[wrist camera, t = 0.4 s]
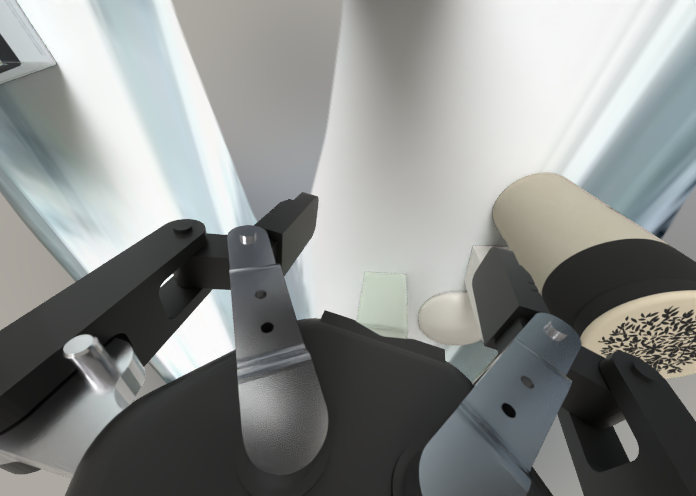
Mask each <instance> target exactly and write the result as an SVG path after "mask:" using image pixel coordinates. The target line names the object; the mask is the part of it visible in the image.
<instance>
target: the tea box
mask: <svg viewBox="0 0 696 496" xmlns="http://www.w3.org/2000/svg"><path fill="white" fill-rule="evenodd" d="M54 65H56V61H55V60H54V58H53V57H52V55H51V53H50V52H49V50H48V49H47V47H46V46H45V44H44V43H43V41H42V40H41V38H40V37H39V35H38V34H37V32H36V30H35V29H34V27H33V26H32V24H31V23H30V21H29V20H28V18H27V17H26V15H25V14H24V12H23V11H22V9H21V8H20V6H19V5H18V3H17V2H16V0H0V84H2V83H5V82H7V81H10V80H13V79H16V78H20V77H23V76H25V75H27V74H31V73H34V72H37V71H40V70H43V69H45V68H48V67H51V66H54Z"/></svg>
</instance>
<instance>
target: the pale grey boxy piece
mask: <svg viewBox="0 0 696 496" xmlns="http://www.w3.org/2000/svg"><path fill="white" fill-rule="evenodd" d="M356 322H358V323H360V324H362V325H363V326H365V327H367V328H368V329H370V330H372V331H374V332H375V333H377V334H379V335H381V336H384V337H394V338H404V339H407V333H408V322H407V283H406V274H392V273H377V272H365V276H364V281H363V287H362V292H361V298H360V303H359V309H358V315H357V320H356Z"/></svg>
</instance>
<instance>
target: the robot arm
mask: <svg viewBox="0 0 696 496" xmlns="http://www.w3.org/2000/svg"><path fill="white" fill-rule="evenodd" d="M317 210H318V196H314V195H311V194H307V193H303V192H302V193H301V194H300V195H299V196H298V197H297V198H296V199H294V200H291V199H288V200H286V201H283V202H280V203H279V204H278V205H277V206H276V207H274V209H272V210H271V211H270V212H269V213H268V214H267V215H265V216H264V217H263V218H262V219H261V220H260V221H259V222H257V223H256V224H255V225H254V226H252V225H245V226H239V227H236V228H234V229H232V230H231V231H230V232H229V233H228V235H219V234H207V233H206V229H205V225H204V224H203V223H201V222H199V221H197V220H191V219H182V220H176V221H172V222H169V223H167V224H165V225H164V226H162V227H161V228H159V229H158V230H156V231H154V232H153V233H151V234H150V235H148V236H147V237H145V238H144V239H142V240H140V241H139V242H137V243H136V244H134V245H133V246H131V247H130V248H128V249H126V250H125V251H123V252H122V253H120V254H119V255H117V256H116V257H114V258H112V259H111V260H109V261H108V262H106V263H105V264H103V265H102V266H100V267H98V268H97V269H95V270H94V271H92V272H91V273H89V274H88V275H86V276H84V277H83V278H81V279H80V280H78V281H77V282H75V283H74V284H72V285H71V286H69V287H67V288H66V289H64V290H63V291H61V292H60V293H58V294H57V295H55V296H53V297H52V298H50V299H49V300H47V301H46V302H44V303H43V304H41V305H39V306H38V307H37V308H35V309H33V310H32V311H30V312H29V313H27V314H25V315H24V316H22V317H21V318H19V319H18V320H16V321H15V322H13V323H11V324H10V325H8V326H7V327H5V328H4V329H2V330H1V331H0V468H2V469H4V470H7V471H9V472H11V473H14V474H28V473H32V472H36V471H38V470H41V469H43V470H46V471H49V472H52V473H55V474H59V475H62V476H65V477H68V478H71V479H72V480H71V482H70V485H69V487H68V490H67V492H66V494H65V496H553V495H552V493H551V492H550V491H549V489H548V488H547V486H546V485H545V484H544V482H543V481H542V480H541V478H540V477H539V475H538V474H537V473H536V471H535V470H534V468H533V467H532V465H533V463H534V461H535V459H536V457H537V455H538V453H539V451H540V449H541V447H542V445H543V443H544V441H545V438H546V436H547V434H548V432H549V430H550V428H551V426H552V424H553V422H554V420H555V417H556V415H557V414H558V417H559V420H560V423H561V426H562V430H563V433H564V436H565V439H566V442H567V445H568V448H569V451H570V454H571V456H572V460H573V463H574V466H575V469H576V472H577V476H578V478H579V482H580V485H581V488H582V491H583V494H584V496H696V421H695V420H694V419H693V417H692V416H691V414H690V413H689V412H688V410H687V409H686V407H685V406H684V405H683V403H682V402H681V400H680V399H679V398H678V396H677V395H676V394H675V392H674V391H673V389H672V388H671V387H670V385H669V384H668V382H667V381H666V380H665V379H664V378H663V377H662V375H661V374H660V373H658V372H657V371H656V370H655V369H654V368H653V367H651V366H650V365H649V364H647V363H646V362H644V361H643V360H641V359H639V358H638V357H636V356H634V355H632V354H629V353H626V352H622V351H617V352H614V353H613V354H611V355H610V356H608V357H607V358H604V357H602V356H601V355H599V354H597V353H595V352H593V351H591V350H589V349H587V348H585V347H583V346H581V345H582V342H581V339H580V337H579V335H578V334H577V333H576V332H575V330H574V329H573V328H572V327H571V326H569V325H568V324H567V323H566V322H564V321H563V320H561V319H559V318H557V317H556V316H553V315H551V314H550V312H549V310H548V308H547V306H546V304H545V302H544V300H543V298H542V296H541V294H540V293H538V292H539V290H538V288H537V286H536V285H535V282H534V280H533V279H532V277H531V275H530V274H529V273H528V272H527V271H526V270H525V269H524V268H523V266H521V265H519V263H518V261H517V259H516V256H515V254H514V252H513V251H510V250H506V249H503V248H499V247H495V246H493V247H492V248H490V250H489V251H488V253H487V254H486V256H485V257H484V259H483V261H482V262H481V264H480V265H479V267H478V268H477V270H476V272H475V273H474V276H473V279H472V288H473V293H474V298H475V303H476V307H477V312H478V317H479V322H480V327H481V332H482V336H483V341H484V346H487V347H490V348H493V349H496V350H498V354H497V355H496V356H495V357H494V359H493V360H492V361H491V362H490V363H489V364H488V365H487V367H486V368H485V369H484V370H483V371H482V372H481V373H480V374H479V376H478V377H477V378H476V379H475V380H474V381H473V382H472V383H471V381H470V380H469V379H468V378H467V377H466V376H465V375H464V374H463V373H462V372H461V371H459V370H458V369H457V368H456V367H454V366H453V365H451V364H450V363H449V362H447V361H445V349H442V348H439V347H436V346H432V345H429V344H426V343H423V342H420V341H417V340H414V339H404V338H394V337H384V336H381V335H379V334H377V333H375V332H374V331H372V330H370V329H368V328H367V327H365V326H363V325H362V324H360V323H358V322H356V321H355V320H353V319H350V318H347V317H344V316H341V315H338V314H335V313H331V312H328V311H324V313H323V315H322V318H321V319H317V318H313V319H302V320H297V319H296V316H295V312H294V309H293V306H292V302H291V299H290V296H289V292H288V289H287V286H286V282H285V279H284V276H285V274H286V273H287V272H288V270H289V269H290V267H291V266H292V265H293V263H294V262H295V260H296V259H297V257H298V256H299V255H300V253H301V252H302V250H303V249H304V247H305V246H306V245H307V243H308V242H309V240H310V239H311V237H312V236H313V233H314V231H315V227H316V219H317ZM171 274H174V276H173V277H172V278H171V279H170V280H169V281H167V282H166V283H165V284H164V285H163V286H162V287H161V288H160V286H161V284H162V283H163V282H164V281H165V280H166V279H167V278H168V277H169V276H170V275H171ZM212 289H225V290H231V297H232V309H233V321H234V333H235V345H236V350H234V351H232V352H230V353H228V354H226V355H224V356H222V357H220V358H218V359H216V360H214V361H212V362H210V363H208V364H206V365H204V366H202V367H200V368H198V369H196V370H194V371H192V372H190V373H188V374H186V375H184V376H182V377H180V378H178V379H176V380H174V381H172V382H170V383H168V384H166V385H164V386H162V387H160V388H158V389H156V390H154V391H152V392H150V393H148V394H146V395H144V396H143V397H141V398H139V399H137V400H136V401H134V400H135V398H136V394H137V393H138V391H139V390H140V388H141V387H142V385H143V382H144V379H145V370H144V366H145V365H146V364H147V363H148V362H149V360H150V359H151V358H152V357H153V356H154V355H155V354H156V353H157V351H158V350H159V349H160V348H161V347H162V346H163V345H164V344H165V342H166V341H167V340H168V339H169V338H170V337H171V336H172V334H173V333H174V332H175V331H176V330H177V329H178V328H179V327H180V325H181V324H182V323H183V322H184V321H185V320H186V319H187V318H188V316H189V315H190V314H191V313H192V312H193V311H194V310H195V309H196V307H197V306H198V305H199V304H200V303H201V302H202V301H203V299H204V298H205V297H206V296H207V295H208V294H209V293H210V292H211V290H212ZM133 401H134V402H133ZM625 419H626V421H627V423H628V424H629V426H630V428H631V430H632V432H633V434H634V436H635V438H636V440H637V442H638V445H639V454H638V457H637V458H636V459H635V460H634V461H632V462H630V461H629V459H628V457H627V455H626V453H625V451H624V449H623V447H622V444H621V442H620V440H619V438H618V436H617V434H616V432H615V430H614V427H613V425H615V424H617V423H619V422H621V421H623V420H625Z"/></svg>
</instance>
